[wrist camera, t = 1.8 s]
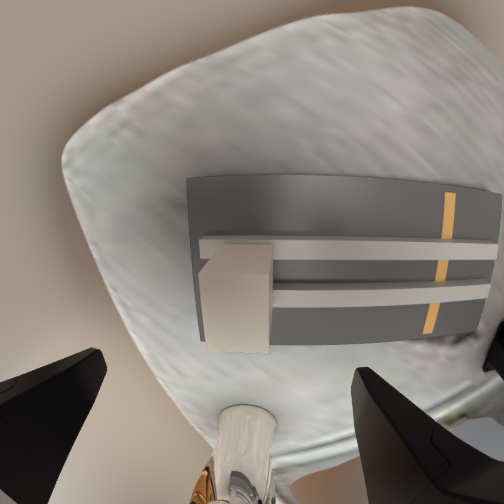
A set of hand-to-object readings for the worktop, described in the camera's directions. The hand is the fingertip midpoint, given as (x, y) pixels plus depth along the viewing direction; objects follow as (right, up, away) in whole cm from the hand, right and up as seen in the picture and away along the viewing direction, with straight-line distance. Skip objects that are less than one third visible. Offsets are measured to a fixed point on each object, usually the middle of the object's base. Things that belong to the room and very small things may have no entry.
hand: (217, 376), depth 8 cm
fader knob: (+1, +3, +10) cm, 10 cm away
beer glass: (+1, -14, +17) cm, 22 cm away
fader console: (+9, +3, +11) cm, 15 cm away
